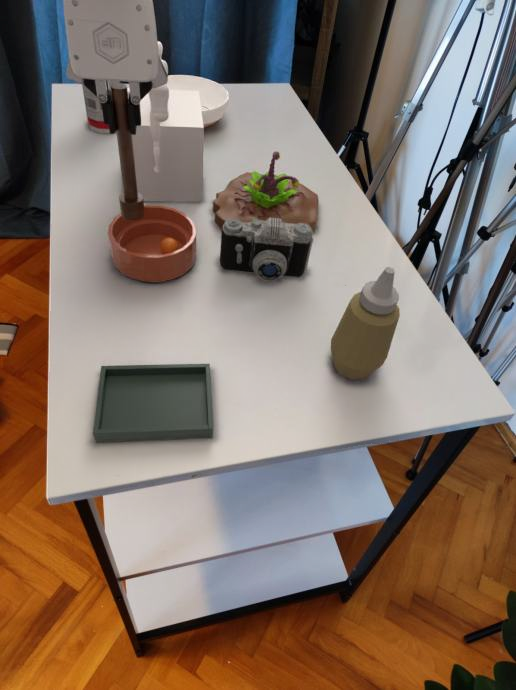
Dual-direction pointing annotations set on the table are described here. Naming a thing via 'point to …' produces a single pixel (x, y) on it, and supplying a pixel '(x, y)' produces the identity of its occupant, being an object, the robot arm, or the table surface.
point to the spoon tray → (153, 402)
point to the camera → (266, 247)
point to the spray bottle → (95, 110)
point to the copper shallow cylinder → (153, 244)
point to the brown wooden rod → (126, 157)
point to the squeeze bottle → (366, 328)
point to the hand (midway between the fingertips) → (123, 128)
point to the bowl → (203, 95)
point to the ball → (168, 246)
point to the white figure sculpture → (169, 145)
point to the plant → (266, 199)
